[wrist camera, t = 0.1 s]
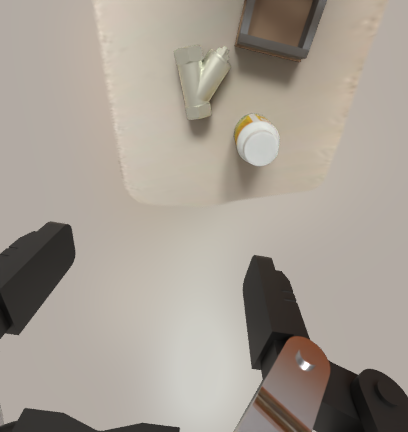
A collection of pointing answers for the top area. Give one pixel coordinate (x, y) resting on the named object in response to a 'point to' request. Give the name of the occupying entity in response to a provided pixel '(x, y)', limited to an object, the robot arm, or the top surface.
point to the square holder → (279, 27)
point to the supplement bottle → (256, 140)
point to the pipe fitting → (200, 77)
